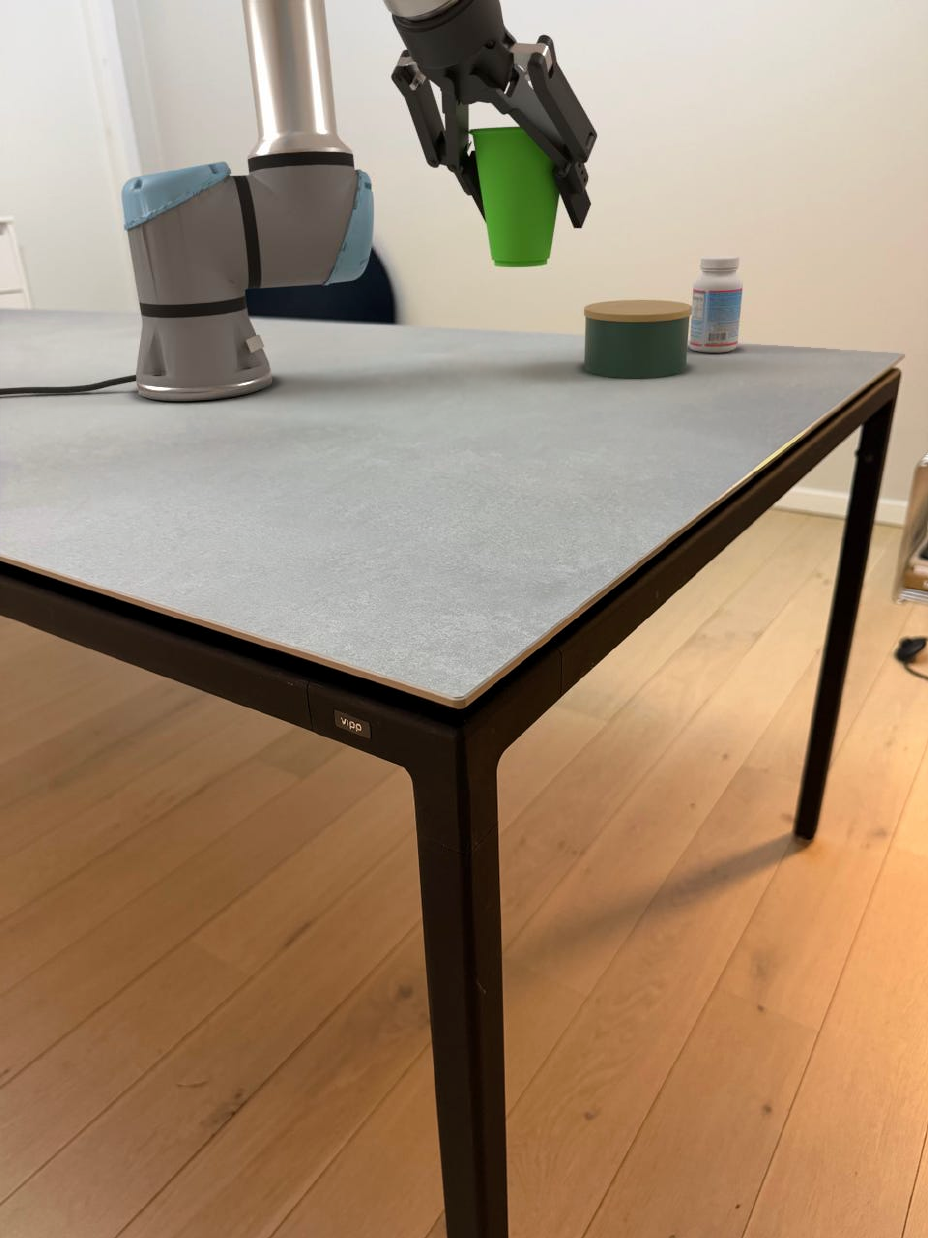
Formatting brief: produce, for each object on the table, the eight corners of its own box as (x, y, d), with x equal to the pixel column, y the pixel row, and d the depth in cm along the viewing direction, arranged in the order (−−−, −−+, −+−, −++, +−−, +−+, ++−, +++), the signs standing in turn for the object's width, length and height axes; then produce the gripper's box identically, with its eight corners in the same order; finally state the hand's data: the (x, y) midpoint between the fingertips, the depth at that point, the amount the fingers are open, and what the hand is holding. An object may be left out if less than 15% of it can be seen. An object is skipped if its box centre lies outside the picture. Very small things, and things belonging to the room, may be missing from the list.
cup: (460, 269, 81) (456, 128, 76) (483, 259, 89) (481, 131, 84) (562, 269, 79) (564, 124, 74) (576, 258, 87) (579, 127, 82)
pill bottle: (743, 347, 120) (752, 254, 115) (727, 355, 115) (736, 259, 110) (699, 343, 123) (706, 253, 118) (681, 351, 119) (688, 258, 114)
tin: (605, 382, 103) (608, 317, 100) (567, 362, 114) (568, 303, 111) (706, 373, 106) (711, 310, 103) (659, 354, 117) (663, 297, 114)
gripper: (301, 38, 70) (429, 247, 89) (548, 9, 60) (632, 251, 79) (339, -36, 71) (456, 184, 91) (586, -78, 61) (659, 181, 80)
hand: (538, 215), depth 85 cm, fingers closed on cup, 8 cm apart
